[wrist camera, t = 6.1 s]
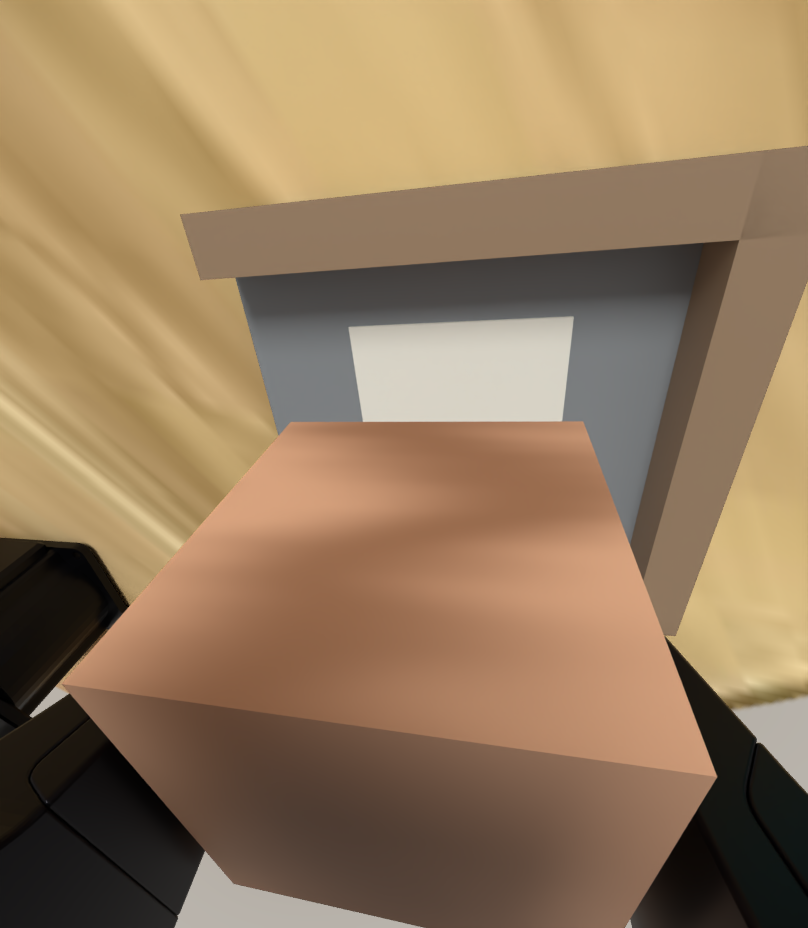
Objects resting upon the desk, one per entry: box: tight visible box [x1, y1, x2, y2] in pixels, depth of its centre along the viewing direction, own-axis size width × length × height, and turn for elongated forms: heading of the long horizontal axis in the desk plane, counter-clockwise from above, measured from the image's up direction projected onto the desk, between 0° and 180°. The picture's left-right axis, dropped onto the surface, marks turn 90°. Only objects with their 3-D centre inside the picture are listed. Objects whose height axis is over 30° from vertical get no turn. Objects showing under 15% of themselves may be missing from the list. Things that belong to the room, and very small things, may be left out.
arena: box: [180, 146, 808, 636], centre depth 14 cm, size 14×14×2 cm
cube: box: [62, 421, 717, 928], centre depth 7 cm, size 6×6×6 cm
